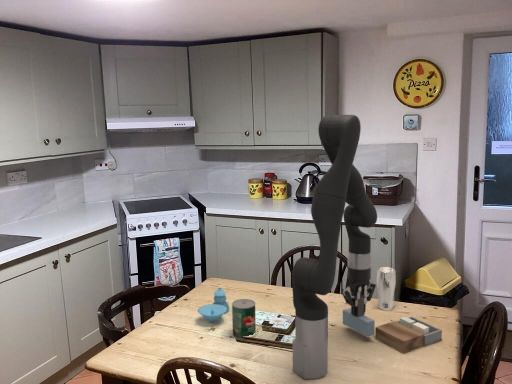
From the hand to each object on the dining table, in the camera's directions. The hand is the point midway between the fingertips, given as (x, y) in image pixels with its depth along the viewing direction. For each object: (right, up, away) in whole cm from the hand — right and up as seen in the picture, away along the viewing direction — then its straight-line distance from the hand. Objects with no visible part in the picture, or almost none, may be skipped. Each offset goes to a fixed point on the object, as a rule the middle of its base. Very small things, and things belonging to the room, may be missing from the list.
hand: (358, 314), depth 157 cm
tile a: (+18, -5, -5) cm, 19 cm away
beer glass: (+16, -4, +24) cm, 29 cm away
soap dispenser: (-49, -6, +17) cm, 52 cm away
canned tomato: (-38, -8, +3) cm, 39 cm away
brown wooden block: (+12, -8, -5) cm, 15 cm away
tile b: (+16, -4, 0) cm, 16 cm away
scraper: (0, -5, +1) cm, 5 cm away
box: (+20, -7, 0) cm, 21 cm away
